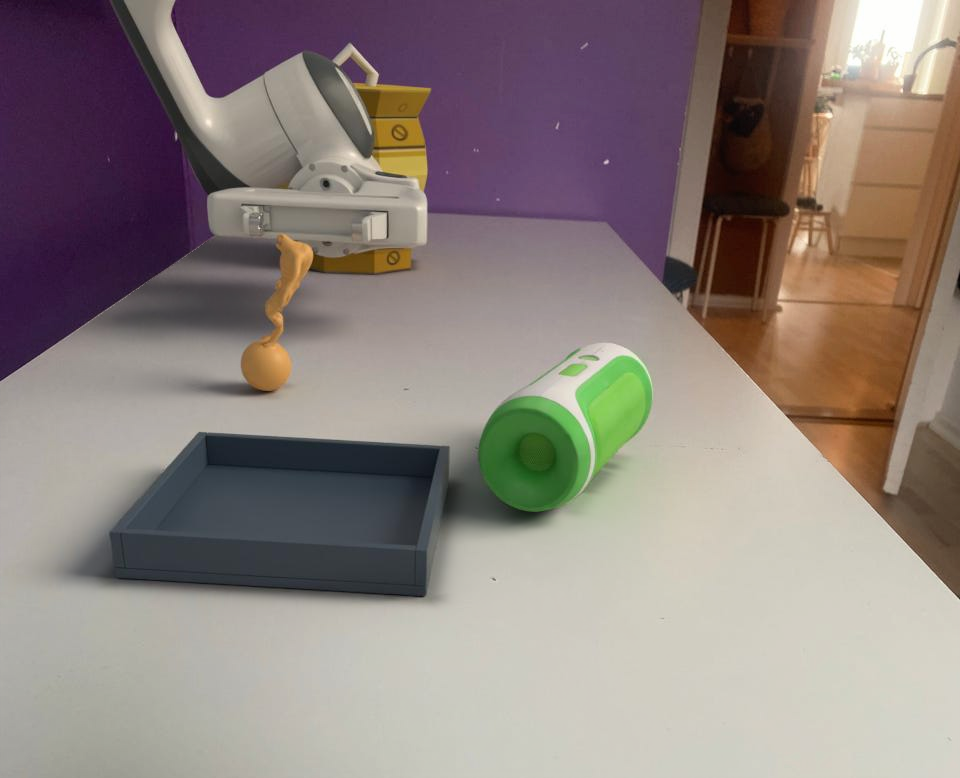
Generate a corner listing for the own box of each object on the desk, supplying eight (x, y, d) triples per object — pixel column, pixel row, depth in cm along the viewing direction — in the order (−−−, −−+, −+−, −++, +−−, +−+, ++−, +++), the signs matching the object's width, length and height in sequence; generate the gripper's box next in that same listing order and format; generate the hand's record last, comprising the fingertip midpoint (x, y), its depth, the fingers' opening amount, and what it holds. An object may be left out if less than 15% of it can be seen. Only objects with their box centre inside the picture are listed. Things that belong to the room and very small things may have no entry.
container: (253, 251, 140) (240, 37, 127) (399, 247, 148) (400, 45, 136) (297, 281, 123) (288, 39, 111) (459, 275, 132) (467, 48, 119)
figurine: (243, 376, 87) (233, 224, 81) (315, 376, 88) (311, 226, 82) (240, 405, 80) (229, 241, 74) (319, 404, 81) (314, 243, 75)
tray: (115, 578, 54) (108, 532, 52) (202, 469, 68) (198, 431, 67) (426, 596, 53) (427, 550, 52) (448, 484, 68) (449, 445, 66)
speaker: (558, 430, 78) (567, 329, 75) (652, 446, 76) (666, 343, 72) (467, 509, 64) (472, 389, 60) (580, 531, 62) (592, 408, 58)
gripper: (224, 167, 101) (183, 183, 89) (434, 178, 100) (421, 195, 88) (229, 236, 104) (190, 260, 92) (433, 247, 103) (420, 272, 91)
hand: (305, 228), depth 90 cm, fingers open, 8 cm apart
